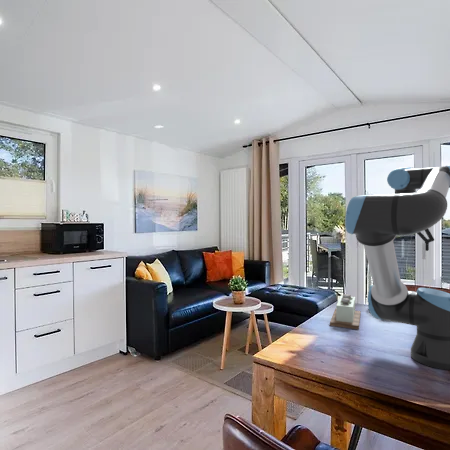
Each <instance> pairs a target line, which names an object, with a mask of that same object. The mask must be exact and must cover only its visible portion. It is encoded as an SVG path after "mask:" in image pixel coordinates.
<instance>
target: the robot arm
mask: <svg viewBox="0 0 450 450" xmlns="http://www.w3.org/2000/svg"><path fill="white" fill-rule="evenodd" d="M386 179H387V180H386V181H387V184H388V186H389V187H391V188H392V189H393V190H394V193H392V194H389V193H388V194H373V195H371V194H369V195H367V194H364V195H356V196H355V195H354V196H353V197H352V198H350V200H349V202H348V204H347V207H346V211H345V218H344V219H345V226H344V227H345V231H346V232H347V234H351V235H355V238H356V240H357V241H358V243H359V244H360V245H362V246H363V249H364V252H365V256H366V260H367V263H368V264H367V265H368V268H369V272H370V276H371V279H372V283H373V284H372V285H373V287H371V288H370V290H369V289H368V292H367V293H368V294H367V307H368V311H369V313H370V314H371V316H372V317H373V318H375V319H378V320H382V321H386V322H392V323H397V324H398V323H400V324H405V325H411V326H416V335H415V338H414V340H413V343H412V345H411V347H410V357H411V358H412V359H413V360H414V361H416V362H417V363H420V364H422V365H424V366H427V367H431V368H434V369H438V370H439V369H440V370H445V371H446V370H448V371H449V370H450V293H449V292H446V291H444V290H443V291H442V290H440V289H435V288H430V287H429V288H428V287H418V288H417V289H416V291H414V290H408V287H407V285H406V284H405V283H404V282H402V280H401V275H400V270H399V265H398V260H397V259H398V258H397V254H396V249H395V244H394V240H395V239H396V237H397V236H409V235H413V234H417V235H418V236H419V237H420V238H421V239H422V240H423V242H422V245H421V246H422V247H421V248H422V249H421V255H422V257H421V259H422V260H426V252H427V251H429V249H430V246H429V245H430V243H431V242H434V241H435V238H434V236H433V234H432V233H431V231H430V229H429V228H432V227H433V226H435V225H436V224H438V222H440V221H441V220H442V218H444V216H445V214H446V213H447V210H448V201H447V195H448V192H449V190H450V165H445V166H436V167H423V168H422V167H421V168H415V167H410V166H408V167H399V168H395V169H393V170H392V171H391V172H389V173H388V175H387V178H386ZM416 190H418V191H416ZM423 231H424V232H425V234H426V235H427V237H428V238H427V237H426V236H425V235H424V234H423V233H422V232H423Z"/></svg>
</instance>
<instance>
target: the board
mask: <svg viewBox="0 0 450 450" xmlns="http://www.w3.org/2000/svg"><path fill="white" fill-rule="evenodd" d="M342 296H343V298H342V299H341V301H342V302H343V305H348V303H349V302H350V299H349V298H351V297H352V295H351V294H347V293H346V294H343V295H342ZM361 316H362V314H361V311H360V310H355V314H354V319H353V323H350V322H342V321H336V308H335V309H334V312H333V313H332V316H331V319H330V321H329V326H331V327H338V328H346V329H353V330H354V329H355V330H359V329H360V323H361Z"/></svg>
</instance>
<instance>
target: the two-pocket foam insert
mask: <svg viewBox="0 0 450 450" xmlns="http://www.w3.org/2000/svg"><path fill="white" fill-rule="evenodd" d="M342 298H343V295H340V296H339V299H338V301H337V303H336V321H342V322H350V323H353V319H354V314H355V311H356V296H351V298H349V299H350V302H349V303H348V305H343V302H342V301H341V299H342Z"/></svg>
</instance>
